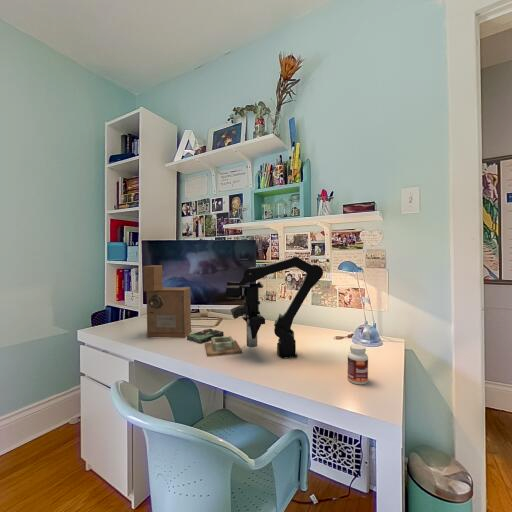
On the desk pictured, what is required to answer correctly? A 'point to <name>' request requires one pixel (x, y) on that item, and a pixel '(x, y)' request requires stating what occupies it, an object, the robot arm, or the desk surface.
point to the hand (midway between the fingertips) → (252, 336)
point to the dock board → (222, 346)
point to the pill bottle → (357, 364)
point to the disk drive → (204, 336)
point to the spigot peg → (250, 338)
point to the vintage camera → (166, 306)
